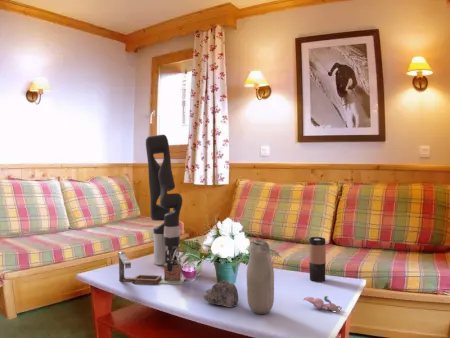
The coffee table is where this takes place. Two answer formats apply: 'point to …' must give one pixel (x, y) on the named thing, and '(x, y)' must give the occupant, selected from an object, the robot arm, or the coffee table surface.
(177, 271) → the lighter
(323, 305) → the pink elongated figure
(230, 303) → the mineral rock
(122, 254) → the grey bar
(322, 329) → the coffee table surface
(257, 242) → the brown clay vase
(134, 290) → the coffee table surface
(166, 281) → the pad
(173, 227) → the robot arm
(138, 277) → the dock
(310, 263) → the travel mug
